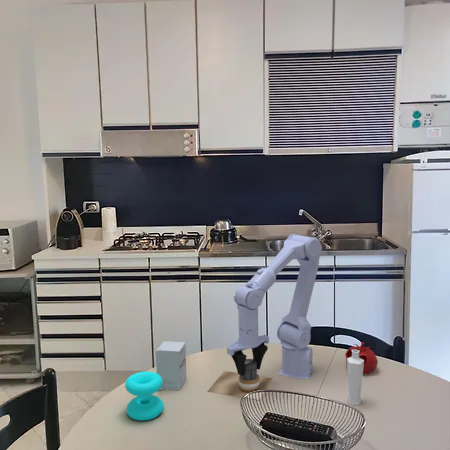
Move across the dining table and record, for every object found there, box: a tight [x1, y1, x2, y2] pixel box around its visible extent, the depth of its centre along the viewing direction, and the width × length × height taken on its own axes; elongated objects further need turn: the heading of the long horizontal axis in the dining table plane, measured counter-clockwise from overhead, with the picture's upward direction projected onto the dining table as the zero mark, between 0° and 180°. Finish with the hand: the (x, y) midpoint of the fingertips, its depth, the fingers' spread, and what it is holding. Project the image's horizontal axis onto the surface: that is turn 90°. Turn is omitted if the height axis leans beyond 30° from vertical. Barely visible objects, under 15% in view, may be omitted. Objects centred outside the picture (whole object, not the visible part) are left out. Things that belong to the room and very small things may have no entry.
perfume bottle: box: [346, 349, 364, 406], centre depth 130 cm, size 5×4×15 cm
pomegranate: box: [344, 341, 379, 375], centre depth 149 cm, size 10×10×9 cm
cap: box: [240, 358, 258, 381], centre depth 138 cm, size 5×5×5 cm
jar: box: [239, 373, 260, 393], centre depth 138 cm, size 6×6×5 cm
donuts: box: [124, 371, 164, 421], centre depth 127 cm, size 10×10×10 cm
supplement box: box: [155, 340, 187, 391], centre depth 141 cm, size 7×7×13 cm
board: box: [207, 370, 273, 399], centre depth 140 cm, size 16×14×1 cm
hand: (249, 371), depth 138 cm, fingers open, 6 cm apart
